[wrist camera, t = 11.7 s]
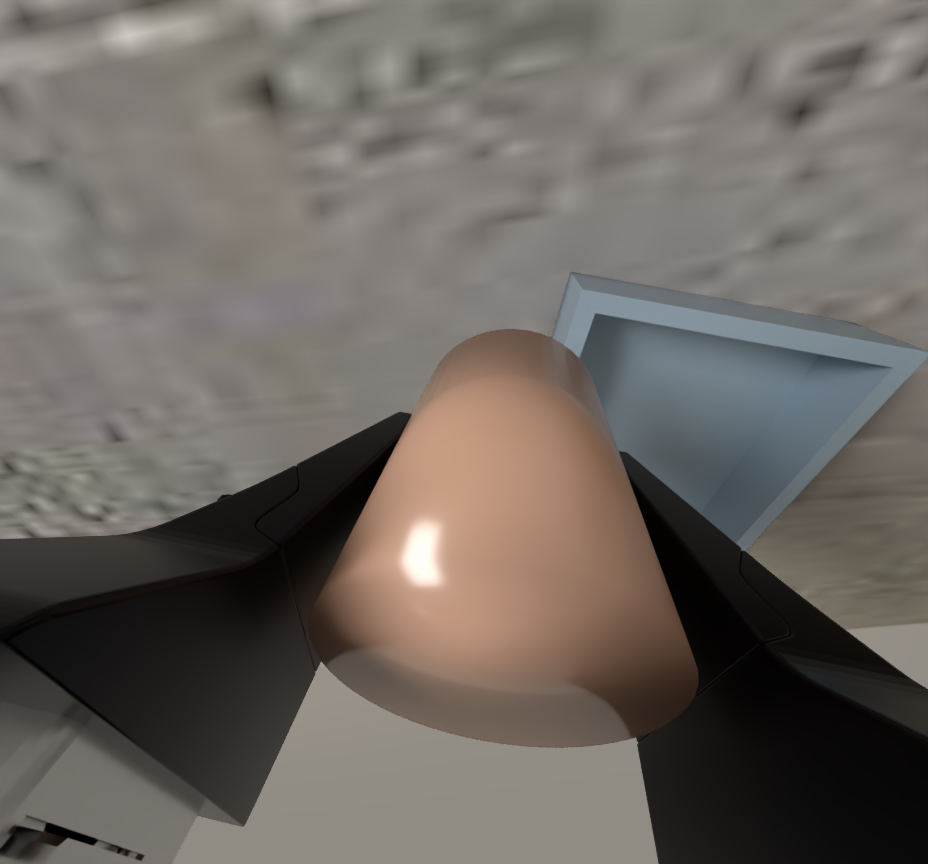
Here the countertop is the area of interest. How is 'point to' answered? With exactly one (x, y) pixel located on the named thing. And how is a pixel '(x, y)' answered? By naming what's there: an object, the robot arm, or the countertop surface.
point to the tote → (727, 391)
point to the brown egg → (507, 565)
